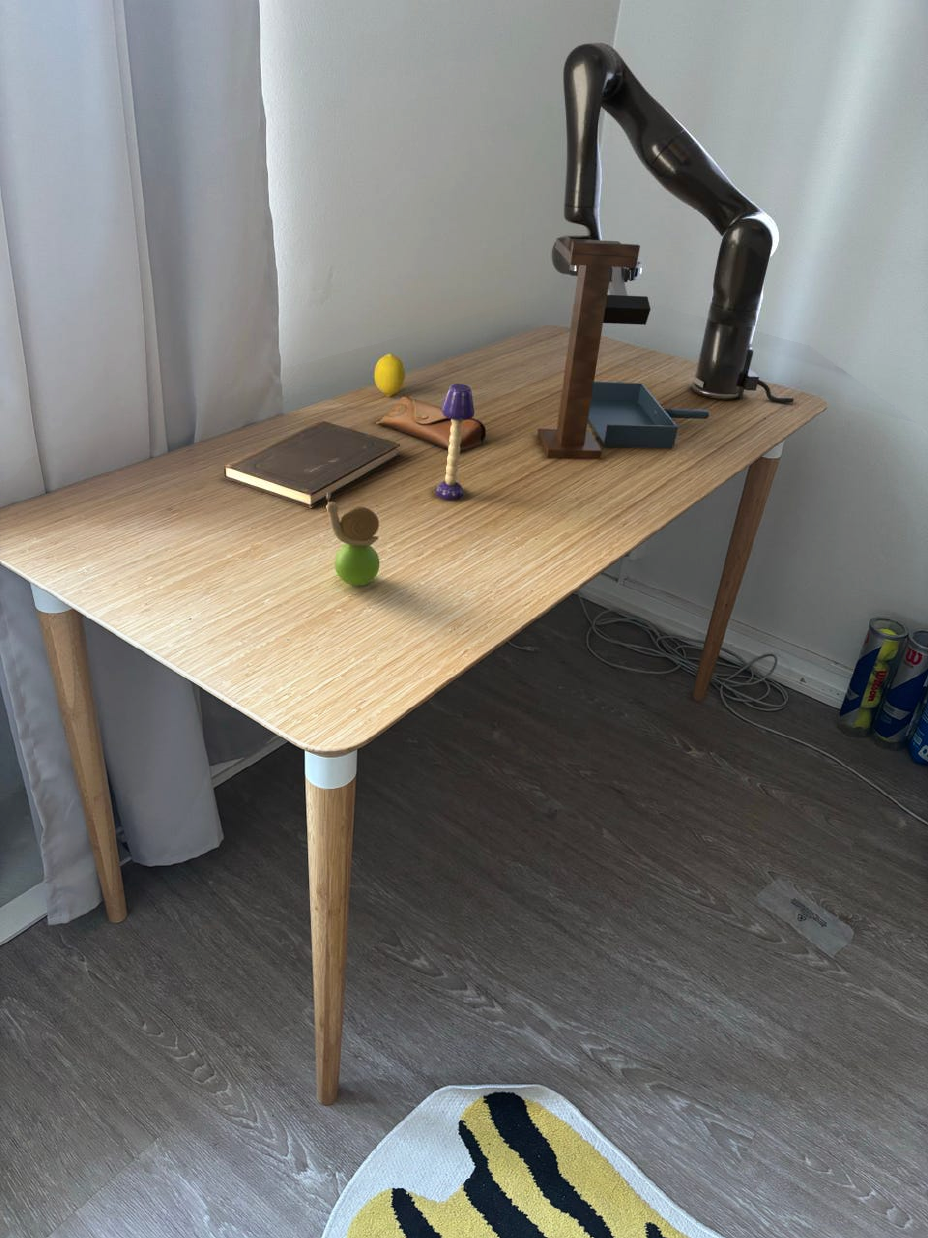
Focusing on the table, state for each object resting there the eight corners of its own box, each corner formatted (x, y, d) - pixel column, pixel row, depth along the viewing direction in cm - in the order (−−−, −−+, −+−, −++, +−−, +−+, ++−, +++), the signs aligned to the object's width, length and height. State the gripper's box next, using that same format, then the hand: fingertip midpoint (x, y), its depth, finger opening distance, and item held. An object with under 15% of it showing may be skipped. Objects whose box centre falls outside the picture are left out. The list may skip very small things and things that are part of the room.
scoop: (604, 446, 158) (607, 424, 156) (575, 400, 176) (578, 380, 174) (727, 449, 161) (732, 428, 159) (687, 404, 179) (691, 384, 177)
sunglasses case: (371, 422, 158) (385, 384, 157) (393, 432, 164) (407, 396, 163) (457, 452, 150) (472, 413, 149) (476, 462, 156) (491, 424, 155)
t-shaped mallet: (587, 268, 160) (591, 252, 158) (632, 270, 161) (637, 254, 159) (598, 322, 153) (602, 306, 150) (645, 324, 154) (650, 308, 151)
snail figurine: (327, 570, 117) (326, 483, 110) (378, 571, 117) (381, 485, 111) (325, 593, 112) (325, 504, 105) (379, 594, 113) (381, 505, 106)
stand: (588, 434, 162) (620, 230, 144) (603, 460, 153) (640, 245, 134) (532, 433, 160) (557, 226, 142) (544, 459, 151) (573, 241, 133)
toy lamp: (471, 492, 139) (480, 384, 130) (461, 504, 135) (470, 394, 126) (441, 485, 140) (448, 378, 131) (430, 498, 136) (437, 388, 127)
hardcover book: (399, 457, 148) (400, 443, 146) (311, 508, 130) (311, 493, 129) (318, 432, 154) (318, 419, 152) (223, 478, 136) (222, 464, 135)
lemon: (406, 392, 172) (407, 350, 168) (401, 403, 168) (403, 359, 163) (376, 389, 173) (377, 347, 168) (371, 400, 168) (372, 356, 164)
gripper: (561, 239, 169) (580, 249, 154) (635, 243, 170) (661, 253, 155) (557, 283, 172) (575, 297, 157) (629, 286, 174) (655, 300, 158)
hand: (618, 275), depth 156 cm, fingers closed on t-shaped mallet, 2 cm apart
